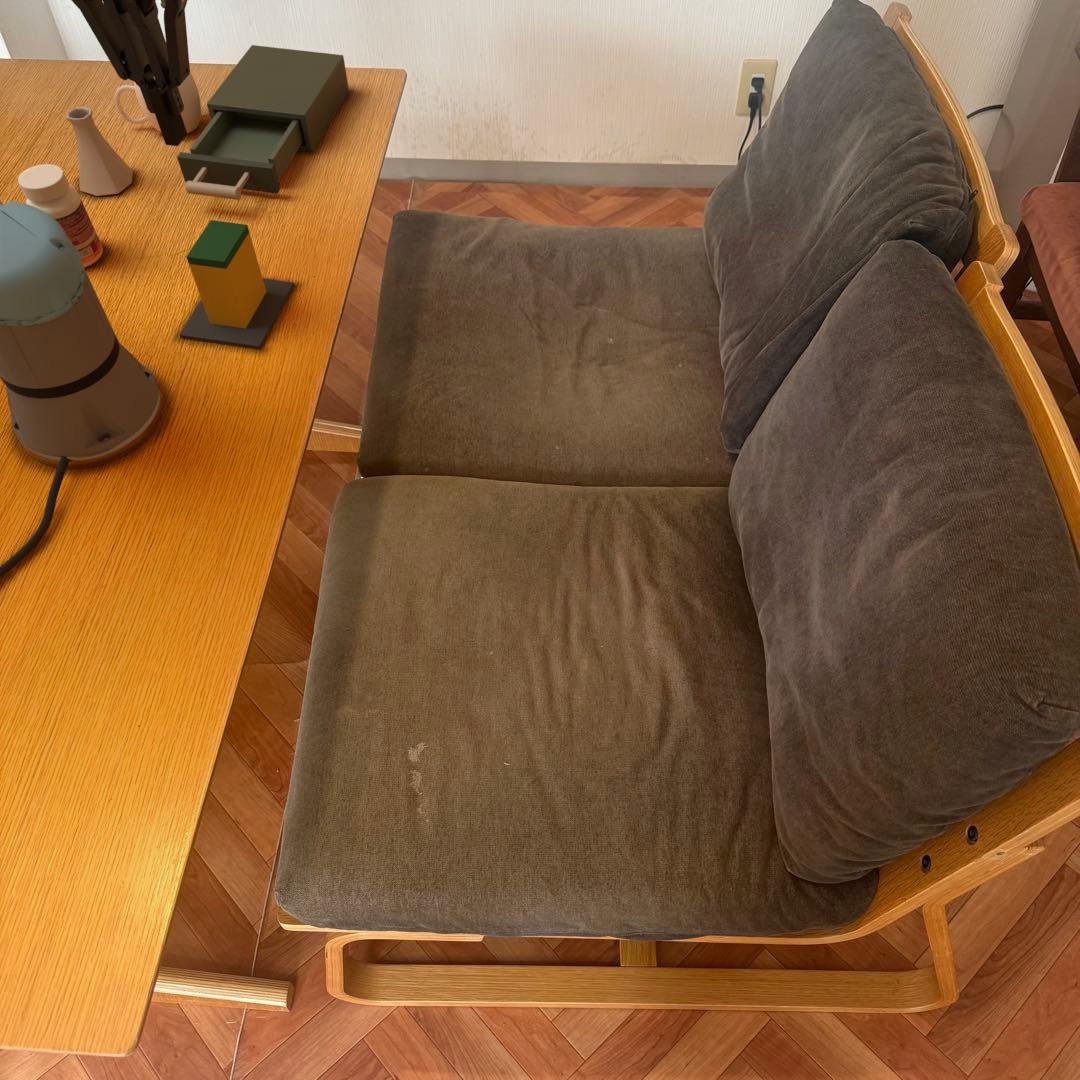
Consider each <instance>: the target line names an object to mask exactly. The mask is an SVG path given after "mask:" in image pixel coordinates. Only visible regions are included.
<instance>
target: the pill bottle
mask: <svg viewBox="0 0 1080 1080" xmlns="http://www.w3.org/2000/svg"><path fill="white" fill-rule="evenodd" d="M17 182H18V185H19V187H20V189H21V191H22V193H23V195H24V197H25V198H26V200H25V204H28V205H31V206H34V207H36V208H38V209H40V210H42V211H44V212H45V213H47V214H48V215H50V216H51V217H52V218H54V219H55V220H56V221H57V222H58V223H59V224H60V226H61V227H62V228H63V230H64V231H65V233H66V234H67V236H68V238H69V239H70V240H71V241H72V244H73V245H74V246H75V247H76V249H77V250H78V252H79V255H80V257H81V259H82V263H83V265H84V268H87V267H89V266H91V265H93V264H95V263H96V262H97V261H98V260H99V259H101V257H102V256H103V251H104V248H103V244H102V242H101V240H100V238H99V235H98V234H97V231H96V230H95V227H94V224H93V222H92V220H91V219H90V216H89V213H88V211H87V210H86V209H87V208H86V207H85V205H84V203H83V200H82V197H81V196H80V194H79V192H78V191H77V190H76V189H75V188H74V187H73V186H71V185H70V182H69V181H68V178H67V176H66V174H65V172H64V170H63V169H62V168H61V167H60V166H58V165H55V164H52V163H51V164H49V163H47V164H46V163H45V164H37V165H34V166H31V167H29V168H26V169H24V170H23V171H22V172H21V173H20V174H19V176H18V178H17Z"/></svg>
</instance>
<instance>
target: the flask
mask: <svg viewBox="0 0 1080 1080" xmlns="http://www.w3.org/2000/svg"><path fill="white" fill-rule="evenodd" d="M65 115H66V116H65V117H66V121H68V122H70V124H71V126H72V129H73V131H74V135H75V139H76V144H77V151H78V152H77V155H78V175H79V176H78V177H79V178H78V179H79V180H78V181H79V191H80V192H83V193H86V194H90V195H93V196H96V197H98V196H108V195H116V194H119V193H121V192H123V191H124V190H125V189H126V188H127V187H129V186H130V185H131V184H132V183H133V174H134V171H133V170H132V168H131V167H130V166H129V165H128V163H126V162H125V161H124V159H123V158H122V157H121V156H120V155H119V154H118V153H117V152H116V150H115V149H114V148H113V147H112V146H111V145H110V143H109V142H108V140H107V139H105V138H104V136H103V134H102V133H101V131H100V130H99V128H98V126H97V125H96V123H95V120H94V118H93V109H92V108H90V107H86V106H77V107H72V108H71V109H69V110H68V111H66V114H65Z"/></svg>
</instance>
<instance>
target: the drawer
mask: <svg viewBox="0 0 1080 1080" xmlns="http://www.w3.org/2000/svg"><path fill="white" fill-rule="evenodd" d="M303 141H304V134H303V129H302V124H301V120H299V119H291V118H282V117H274V116H265V115H257V114H249V113H240V112H232V111H223V110H219V111H218V112H217V113H216V115H215V116H214V117H213V119H212V120H211V119H210V121H209V122H208V124H207V125H206V126H205V128H204V129H203V130H202V132H201V133H200V134H199V135H198V137H197V138H196V140H195V141H194V143H193V144H192V145H191V146H190V148H189V151H190V152H181V151H180V152H179V153H178V154H177V156H176V158H177V159H176V160H177V162H178V164H179V169H180V171H181V175H182V177H183V180H184V182H185V190H186V193H187V194H189V195H197V196H206V197H214V198H222V199H229V200H236V201H238V200H240V199H242V190H244V191H252V192H261V193H268V194H276V195H277V194H279V193H280V190H281V185H280V179H281V178H282V177H283V175H284V173H285V172H286V170H287V168H288V167H289V165H290V163H291V162H292V160H293V158H294V157H295V156H296V154H297V153H298V151H299V150H298V149H299V147H300V146H301V144H302V143H303Z"/></svg>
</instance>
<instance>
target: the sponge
mask: <svg viewBox="0 0 1080 1080" xmlns="http://www.w3.org/2000/svg"><path fill="white" fill-rule="evenodd" d="M186 261H187V263H188V266H189V269H190V272H191V274H192V277H193V280H194V282H195V285H196V289H197V291H198V293H199V297H200V300H201V299H202V302H203V305H204V308H205V310H206V313H207V316H208V319H209V322H210V324H216V325H223V326H230V327H237V328H244V329H246V327H247V325H248V324H249V322H250V320H251V318H252V317H253V315H254V313H255V311H256V310H257V308H258V306H259V304H260V302H261V301H262V299H263V297H264V295H265V294H266V288H265V285H264V281H263V278H264V277H263V275H262V271H261V267H260V264H259V260H258V256H257V254H256V250H255V247H254V243H253V239H252V235H251V233H250V229H249V225H248V224H245V223H238V222H237V223H236V222H228V221H221V220H216V219H215V220H214V219H211V220H209V222H208V223H207V225H206V226H205V227H204V229H203V231H202V232H201V234H200V235H199V237H198V238H197V239H196V240H195V242H194V244H193V245H192V247H191V249H190V250H189V252H188V253H187V255H186Z"/></svg>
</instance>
